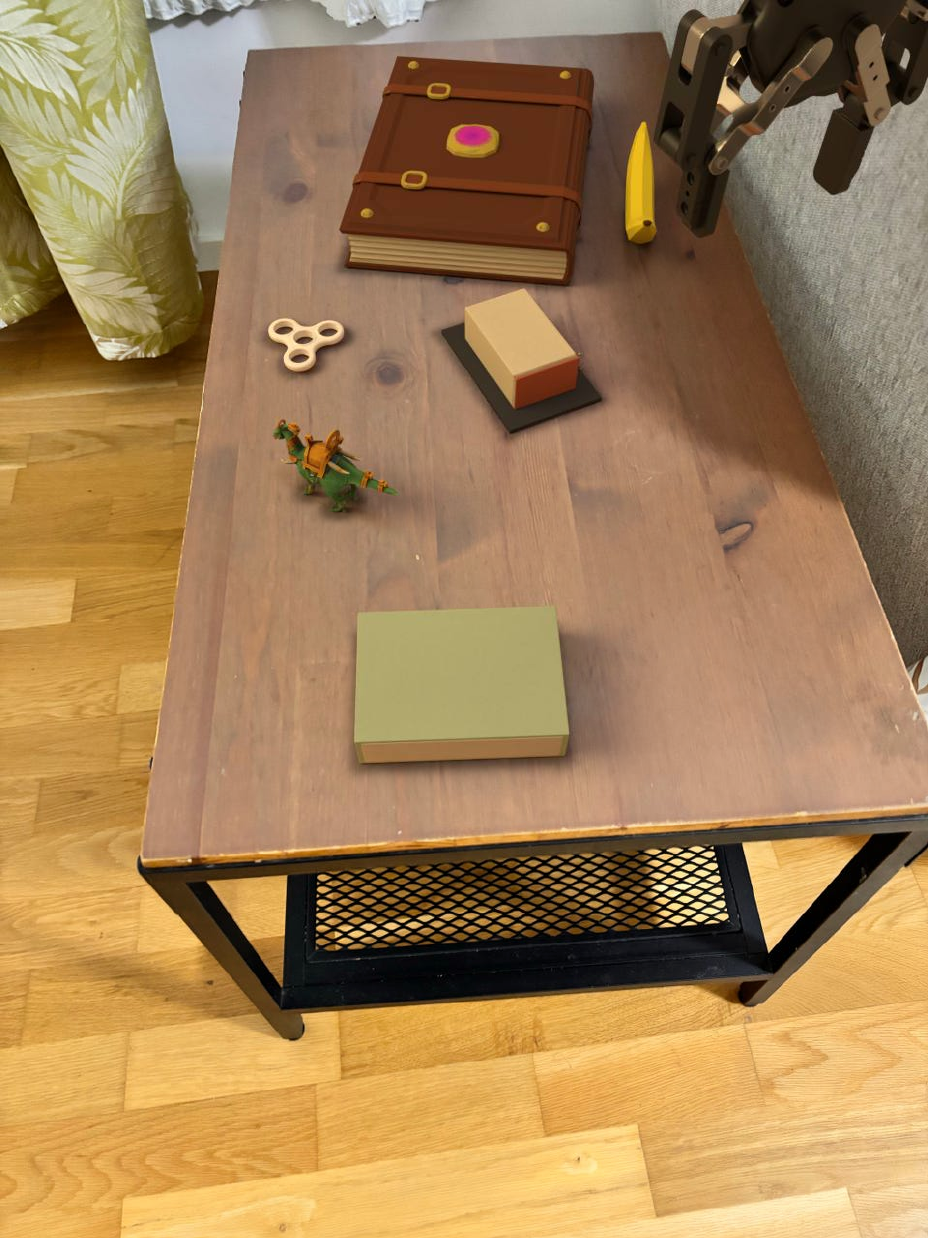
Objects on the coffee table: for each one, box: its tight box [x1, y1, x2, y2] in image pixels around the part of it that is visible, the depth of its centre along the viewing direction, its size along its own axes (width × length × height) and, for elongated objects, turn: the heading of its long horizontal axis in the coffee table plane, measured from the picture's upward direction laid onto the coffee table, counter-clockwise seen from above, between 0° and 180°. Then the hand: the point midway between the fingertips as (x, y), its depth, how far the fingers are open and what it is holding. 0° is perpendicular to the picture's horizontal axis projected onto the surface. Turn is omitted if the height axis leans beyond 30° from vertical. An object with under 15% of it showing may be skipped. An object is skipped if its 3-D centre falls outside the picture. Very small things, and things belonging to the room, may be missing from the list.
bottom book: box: [353, 605, 570, 764], centre depth 64 cm, size 14×10×4 cm
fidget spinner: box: [267, 317, 345, 372], centre depth 84 cm, size 7×6×1 cm
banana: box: [624, 121, 658, 245], centre depth 91 cm, size 3×19×6 cm, turn 175°
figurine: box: [272, 418, 399, 513], centre depth 71 cm, size 3×12×8 cm, turn 57°
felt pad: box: [440, 321, 603, 434], centre depth 83 cm, size 14×9×1 cm, turn 26°
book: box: [339, 55, 595, 285], centre depth 96 cm, size 23×32×5 cm
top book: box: [464, 288, 580, 410], centre depth 81 cm, size 10×6×4 cm, turn 26°
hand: (763, 206), depth 49 cm, fingers open, 8 cm apart
